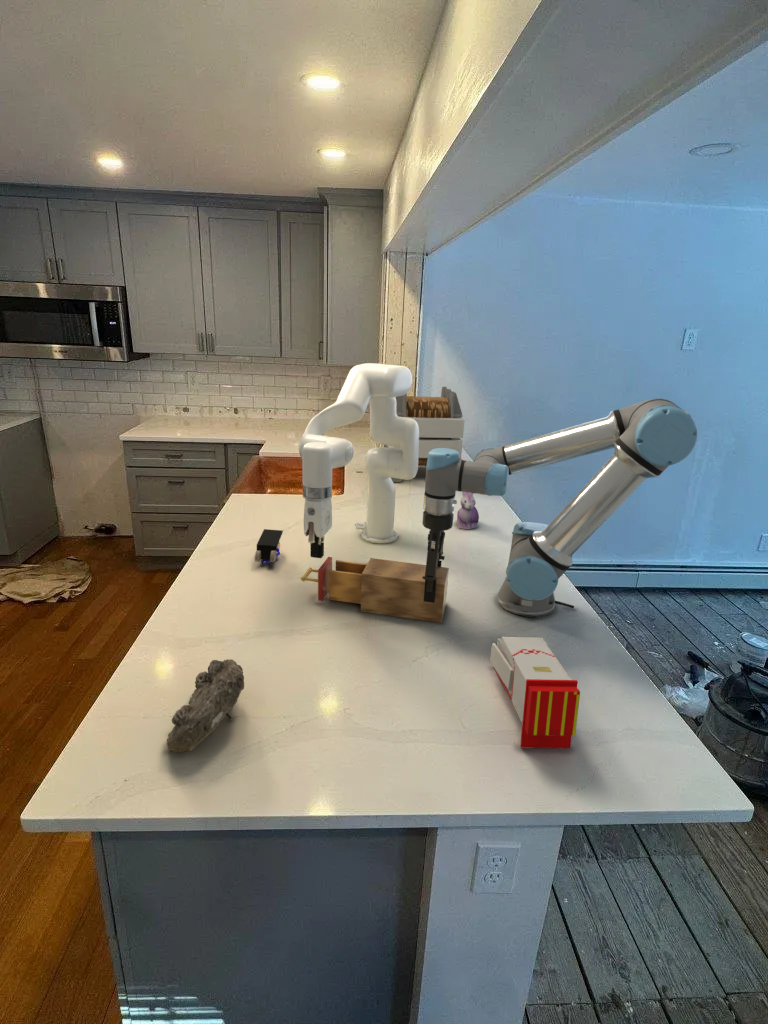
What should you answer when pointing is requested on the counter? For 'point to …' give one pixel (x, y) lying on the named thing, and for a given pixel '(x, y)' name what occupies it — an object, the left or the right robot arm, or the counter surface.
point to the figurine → (467, 512)
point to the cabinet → (402, 590)
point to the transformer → (433, 422)
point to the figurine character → (268, 546)
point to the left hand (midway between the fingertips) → (317, 556)
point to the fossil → (206, 705)
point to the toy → (537, 691)
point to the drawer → (338, 580)
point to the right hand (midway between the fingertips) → (431, 591)
